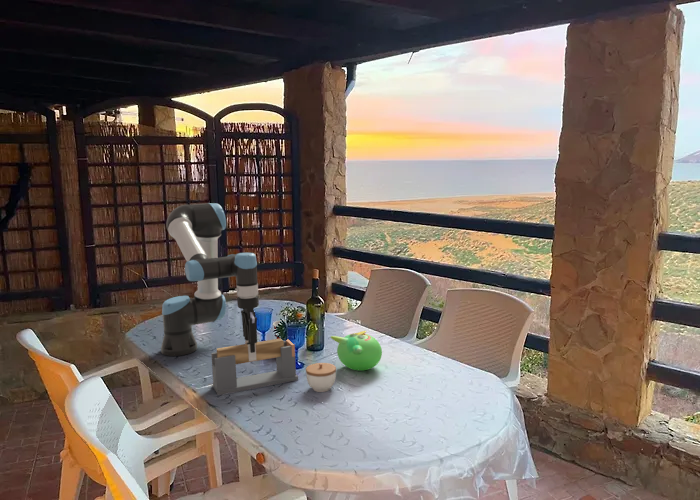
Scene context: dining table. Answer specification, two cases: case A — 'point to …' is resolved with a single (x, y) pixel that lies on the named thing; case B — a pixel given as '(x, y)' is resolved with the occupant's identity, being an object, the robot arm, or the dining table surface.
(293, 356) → the stand
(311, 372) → the lidded jar
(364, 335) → the toy bird
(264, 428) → the dining table surface
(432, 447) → the dining table surface
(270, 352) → the slat
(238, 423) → the dining table surface
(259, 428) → the dining table surface
